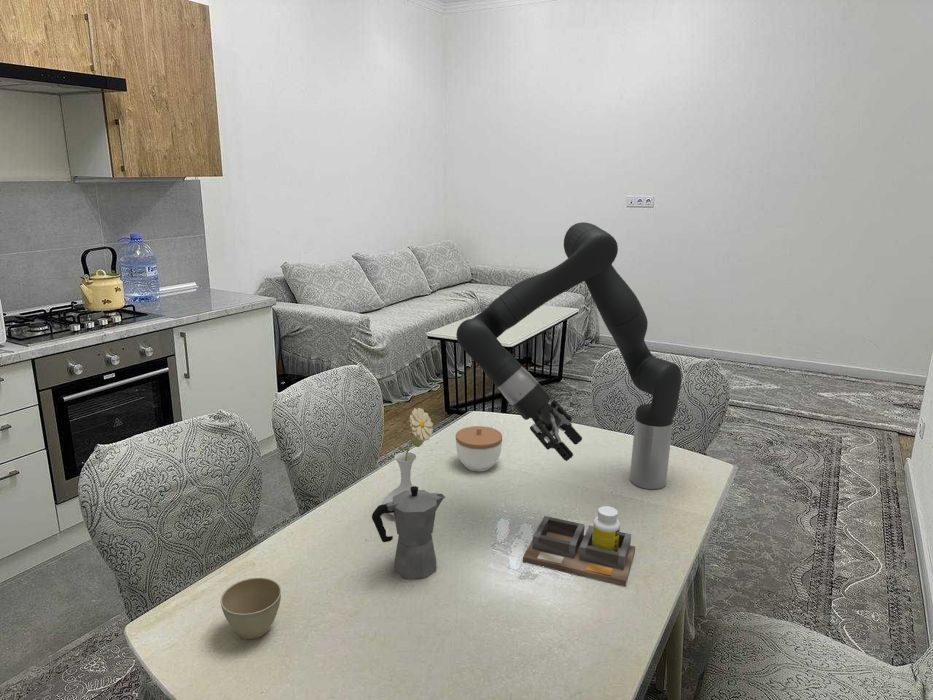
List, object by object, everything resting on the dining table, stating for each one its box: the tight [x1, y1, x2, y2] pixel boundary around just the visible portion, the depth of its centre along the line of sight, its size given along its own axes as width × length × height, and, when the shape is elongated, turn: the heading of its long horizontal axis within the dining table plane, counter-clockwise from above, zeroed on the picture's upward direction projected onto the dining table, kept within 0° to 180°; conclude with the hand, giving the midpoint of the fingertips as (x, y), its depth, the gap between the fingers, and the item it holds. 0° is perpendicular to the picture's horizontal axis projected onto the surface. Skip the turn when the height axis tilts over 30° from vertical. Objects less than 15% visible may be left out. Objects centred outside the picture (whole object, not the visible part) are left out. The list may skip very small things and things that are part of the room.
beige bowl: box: [220, 577, 282, 640], centre depth 113 cm, size 10×10×7 cm
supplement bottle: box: [592, 505, 621, 552], centre depth 134 cm, size 5×5×10 cm
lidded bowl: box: [455, 425, 503, 472], centre depth 176 cm, size 13×13×11 cm
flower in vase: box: [381, 407, 434, 517], centre depth 151 cm, size 13×11×25 cm
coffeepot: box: [371, 485, 446, 580], centre depth 130 cm, size 15×9×18 cm, turn 116°
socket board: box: [522, 515, 636, 587], centre depth 136 cm, size 13×21×4 cm, turn 68°
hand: (574, 449), depth 138 cm, fingers open, 8 cm apart
